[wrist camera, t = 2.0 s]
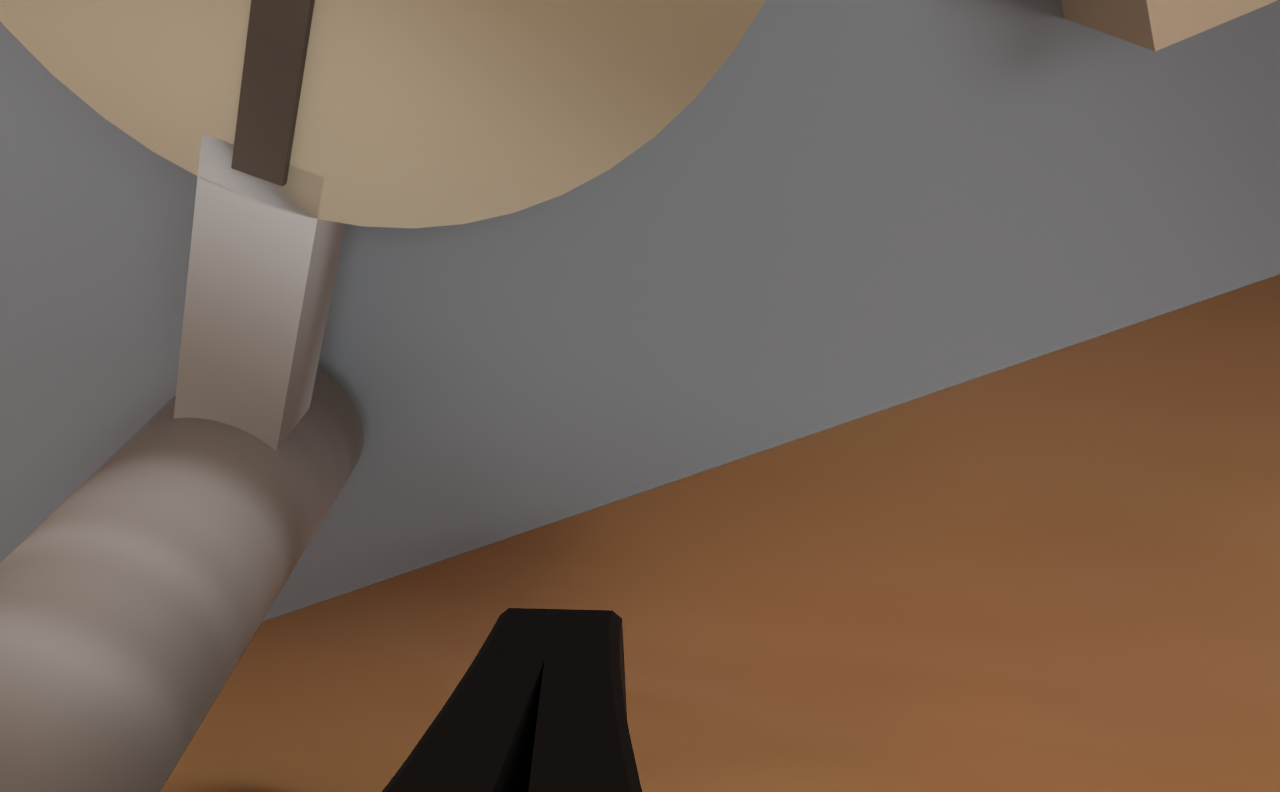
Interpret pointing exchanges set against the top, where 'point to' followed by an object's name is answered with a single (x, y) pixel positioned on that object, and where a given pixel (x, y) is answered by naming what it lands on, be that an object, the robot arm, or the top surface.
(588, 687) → the robot arm
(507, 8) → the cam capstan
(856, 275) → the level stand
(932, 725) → the top surface
